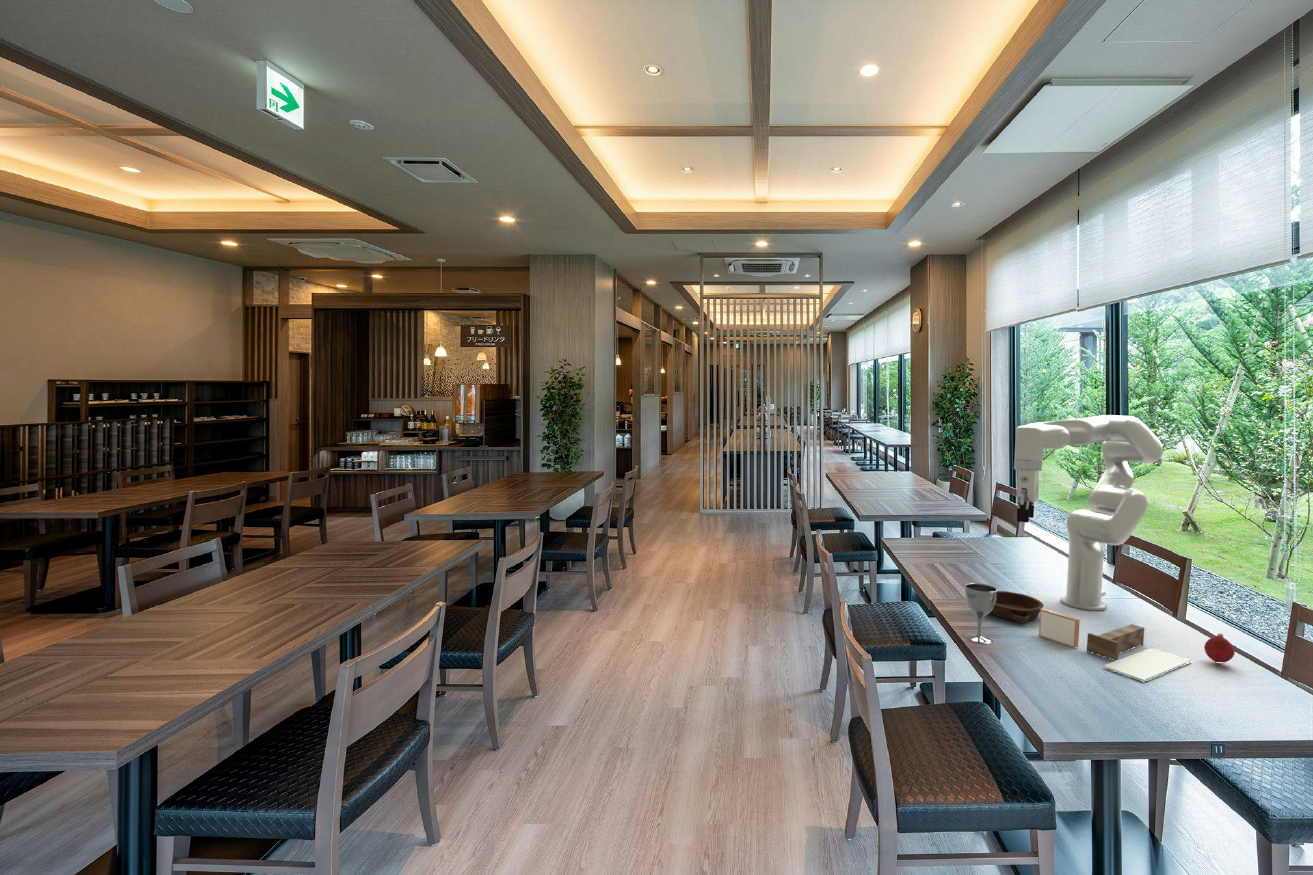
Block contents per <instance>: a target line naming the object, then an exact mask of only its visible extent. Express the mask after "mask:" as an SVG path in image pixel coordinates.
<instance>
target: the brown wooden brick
mask: <svg viewBox="0 0 1313 875" xmlns="http://www.w3.org/2000/svg"><path fill="white" fill-rule="evenodd" d="M1144 638H1145V627H1143V626H1141V625H1137V624H1134V623H1132V624H1128V625H1124V626H1122V627H1119V628H1117V629H1113V630H1110V631H1107V632H1103V633H1101V634H1095V633H1092V632H1088V633H1087V640H1086V641H1087V642H1086V652H1087V651H1089V652H1088V653H1090V652H1093V653H1094V655H1096V654H1099V655H1101V656H1100V657H1102V656H1105V657H1107V658H1106V659H1108V658H1111V659H1114V660H1117V659H1118V656H1119V654H1118V653H1120V652H1123V653H1125V652H1127V651H1126V650H1128V649H1131V648H1133V647H1136V648H1138V647H1137V646H1139V645H1142V646H1144V643H1145V639H1144ZM1139 647H1140V646H1139ZM1131 650H1132V649H1131ZM1124 651H1125V652H1124ZM1128 651H1129V650H1128ZM1093 653H1092V654H1093ZM1120 654H1121V653H1120ZM1099 655H1098V656H1099ZM1105 657H1104V658H1105ZM1111 659H1110V660H1111ZM1114 660H1113V661H1114ZM1118 660H1119V659H1118Z"/></svg>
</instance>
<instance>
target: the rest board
mask: <svg viewBox="0 0 1313 875" xmlns="http://www.w3.org/2000/svg"><path fill="white" fill-rule="evenodd" d="M1190 661H1191V662H1192V660H1191V659H1188V658H1184V657H1182V656H1179V655H1175V654H1172V653H1169V652H1165V651H1163V650H1162V651H1161V650H1158V649H1156V648H1152V647H1149V648H1147V649H1144V650H1141V651H1139V652H1135V653H1133V654H1130V655H1128V656H1126V657H1122V658H1120V659H1118V660H1117V661H1114V660H1113V661H1111V662H1109V663H1107V664H1103V666H1102V667H1103V668H1106V669H1109V670H1111V671H1110V672H1112V671H1116V672H1118V673H1121V674H1123V675H1127V676H1130V677H1131V678H1136V679H1138V680H1142V681H1146V680H1149V679H1151V678H1154V677H1155V676H1157V675H1161V674H1163V673H1166V672H1167V671H1170V670H1172V669H1175V668H1177V667H1180V666H1181V665H1184V664H1186V663H1187V662H1190ZM1106 669H1105V670H1106ZM1109 670H1108V671H1109ZM1123 675H1122V676H1123ZM1131 678H1130V679H1131Z"/></svg>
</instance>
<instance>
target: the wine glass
mask: <svg viewBox="0 0 1313 875" xmlns="http://www.w3.org/2000/svg"><path fill="white" fill-rule="evenodd" d="M964 589H965V590H964V592H965V593H964V594H965V601H966V605H967V606H968V608H969V610H970V611H972V614H974V615H975V618H976V622H977V623H976V624H977V632H976V633H977V634H975V633H970V634H966V635H965V636H964V638H965V639H966V640H967V641H969V642H971V643H975V644H979V645H991V644H993V643H994V641H993V639H992V638H991V637H988V636H986V635H982V634H981V633H982V632H981V631H982V624H983V620H984V619H985V617H986V616H987V615H989V614H991V613H990V612H991V611H992V610H993V608H994V606H995V603H996V599H997V591H998V589H997V588H996V587H995V586H993V585H990V584H984V583H979V582H970V583H966V584H965V588H964Z"/></svg>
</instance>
